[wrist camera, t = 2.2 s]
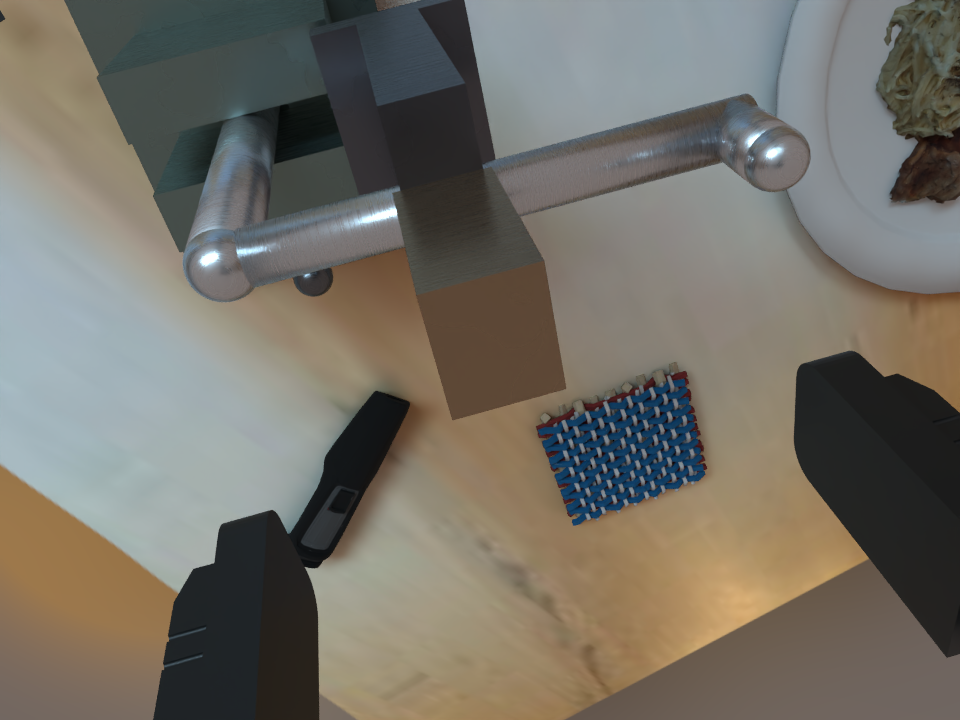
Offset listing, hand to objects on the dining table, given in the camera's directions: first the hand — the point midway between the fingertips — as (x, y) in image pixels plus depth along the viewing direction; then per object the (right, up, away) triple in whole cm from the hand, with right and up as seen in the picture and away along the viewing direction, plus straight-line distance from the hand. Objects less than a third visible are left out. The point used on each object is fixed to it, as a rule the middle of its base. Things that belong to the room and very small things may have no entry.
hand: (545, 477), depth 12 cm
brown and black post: (-3, +10, +16) cm, 19 cm away
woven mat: (+9, -4, +43) cm, 44 cm away
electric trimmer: (-10, -5, +40) cm, 41 cm away
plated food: (+29, +20, +32) cm, 47 cm away
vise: (-7, +16, +26) cm, 31 cm away
